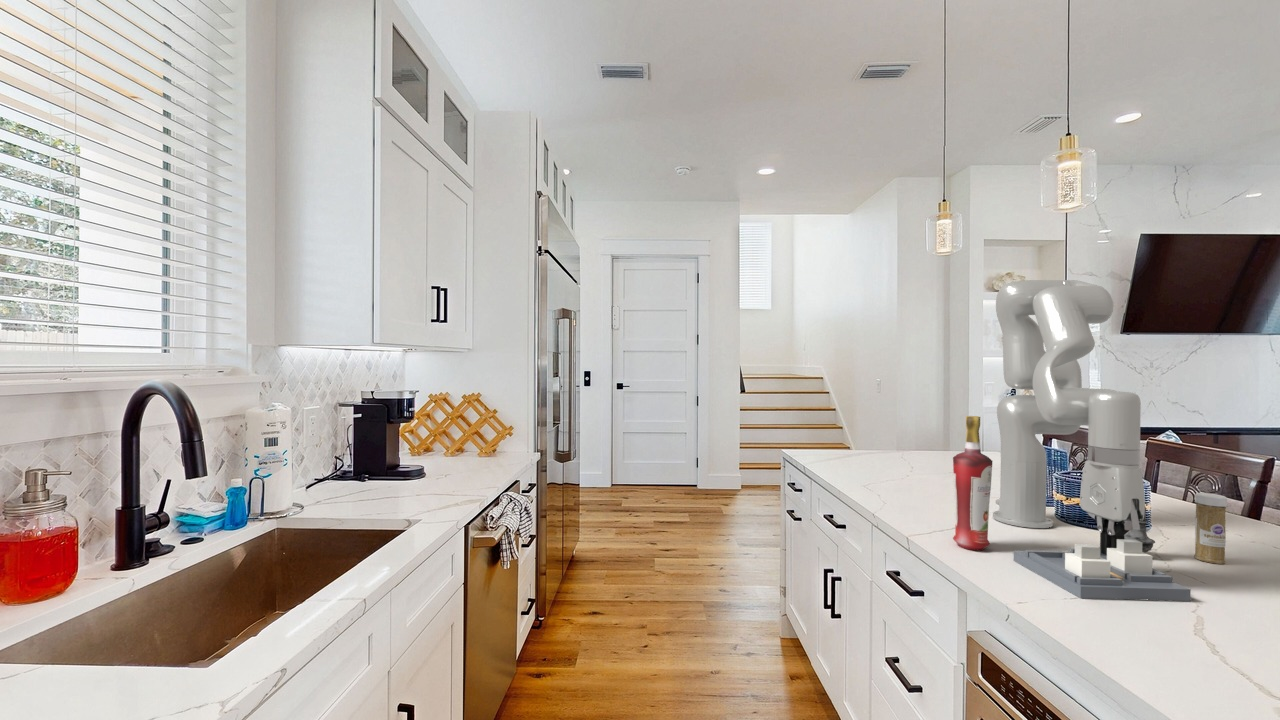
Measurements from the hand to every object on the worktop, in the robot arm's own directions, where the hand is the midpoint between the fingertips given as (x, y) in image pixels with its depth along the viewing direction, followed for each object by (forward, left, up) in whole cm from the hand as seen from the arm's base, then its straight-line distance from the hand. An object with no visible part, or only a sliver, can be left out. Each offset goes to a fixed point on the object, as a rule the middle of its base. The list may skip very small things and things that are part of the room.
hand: (1112, 554), depth 107 cm
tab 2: (+4, 0, -2) cm, 4 cm away
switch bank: (+2, -5, -4) cm, 7 cm away
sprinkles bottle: (-10, +27, -4) cm, 29 cm away
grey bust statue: (-12, +14, -4) cm, 19 cm away
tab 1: (+7, -10, -2) cm, 13 cm away
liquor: (-15, -18, -4) cm, 24 cm away
